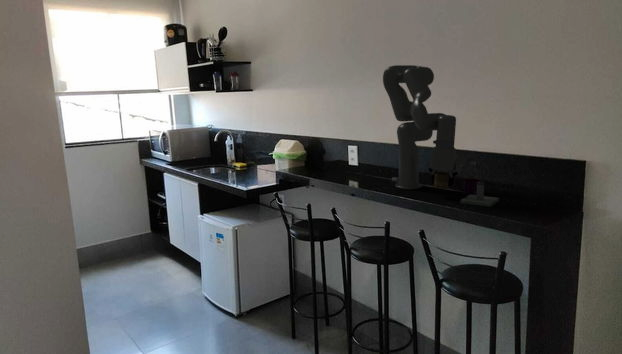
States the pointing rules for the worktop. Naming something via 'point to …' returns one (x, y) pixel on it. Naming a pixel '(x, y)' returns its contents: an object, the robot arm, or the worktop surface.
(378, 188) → the worktop surface
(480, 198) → the post block
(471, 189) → the mug
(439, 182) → the collar
